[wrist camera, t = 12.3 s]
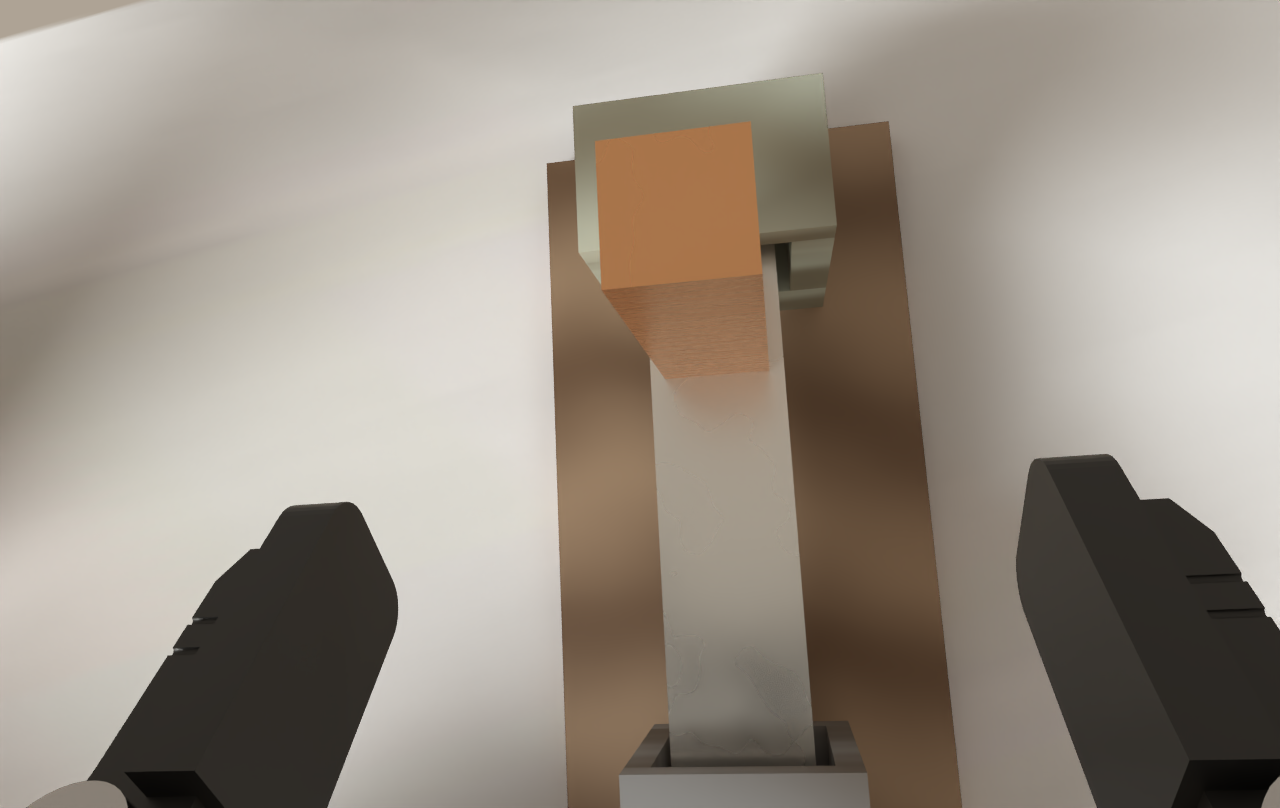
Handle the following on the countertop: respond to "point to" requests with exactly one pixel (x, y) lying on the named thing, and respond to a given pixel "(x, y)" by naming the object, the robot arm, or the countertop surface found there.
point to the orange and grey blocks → (713, 439)
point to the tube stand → (821, 462)
